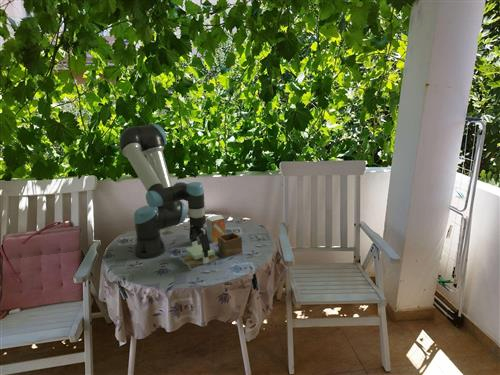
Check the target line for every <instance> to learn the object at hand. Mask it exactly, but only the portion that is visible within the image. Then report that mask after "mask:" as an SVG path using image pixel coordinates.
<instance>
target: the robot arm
mask: <svg viewBox="0 0 500 375" xmlns="http://www.w3.org/2000/svg"><path fill="white" fill-rule="evenodd" d="M166 144H167V135H166V131H165V130H164V128H163V127H162V126H161V125H160V124H158V123H157V124H153V123H152V124H150V123H149V124H144V125H138V126H130V127H127V128H126V129H124V130H123V131H122V132H121V134H120V137H119V141H118V146H119V150H120V152H121V154H122V155H123V156H124V157H125V158H127V159H128V162H129V163H130V165H131V167H132V168H133V170H134V172H135V173H136V175H137V177H138V178H139V181H141V182H140V183H141V184H142V185H143V187H144V188H145V191H146V193H145V201H146V203H147V205H143V206H141V207H139V208H138V209H136V210H135V211H134V213H133V218H134V219H133V222H134V227H135V236H136V241H135V247H134V255H135V256H136V257H137V256H138V257H137V258H140V259H153V258H156V257H159V256H161V255H163V254H164V253H165V252H166V244H165V242H164V241H163V239H162V238H163V237H162V235H161V230H165V229H168V228H170V227H175V226H178V225H180V224H182V223H184V222H185V221H186V218H187V211H188V218H189V220H188V221H189V236H188V238H189V240H190V241H191V247H193V246H197V245H199V243H198V242H200V244H201V246H202V249H203V250H202V256H203V265H205V264H208V263H210V261H209V257H208V251H209V250H210V248H211V246H210V241H209V240H208V236H207V228H206V229H204V225H205V224H207V222H206V218H207V217H206V206H205V190H204V185H203V183H202V182H199V181H198V182H197V181H192V182H188V183H185V182H182V181H179V182H178V181H177V182H175V183H174V184H173V185H172V181H171V176H170V174H169V169H168V167H167V163H166V158H165V156H164V153H163V151H164V149H165V145H166ZM183 201H186V202H187V207H186V204H185V203H184V202H183ZM187 208H188V210H187ZM198 240H199V241H198Z"/></svg>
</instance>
